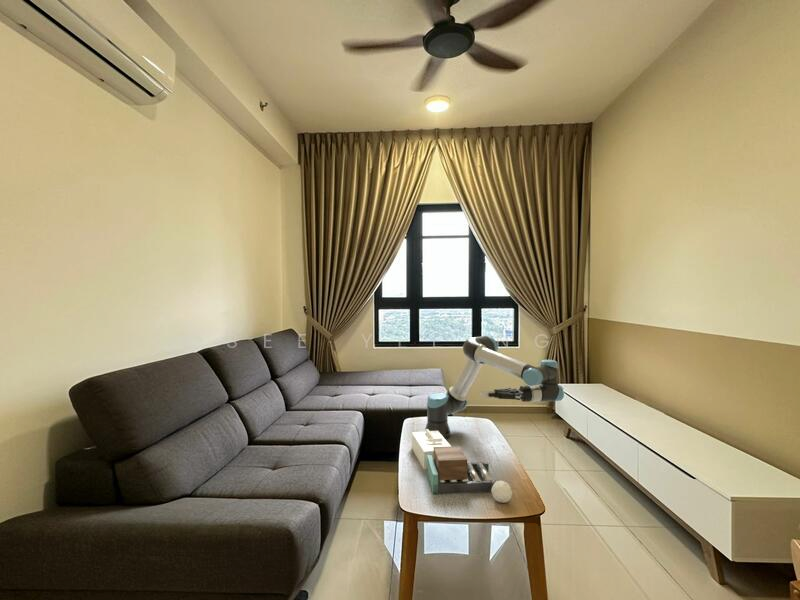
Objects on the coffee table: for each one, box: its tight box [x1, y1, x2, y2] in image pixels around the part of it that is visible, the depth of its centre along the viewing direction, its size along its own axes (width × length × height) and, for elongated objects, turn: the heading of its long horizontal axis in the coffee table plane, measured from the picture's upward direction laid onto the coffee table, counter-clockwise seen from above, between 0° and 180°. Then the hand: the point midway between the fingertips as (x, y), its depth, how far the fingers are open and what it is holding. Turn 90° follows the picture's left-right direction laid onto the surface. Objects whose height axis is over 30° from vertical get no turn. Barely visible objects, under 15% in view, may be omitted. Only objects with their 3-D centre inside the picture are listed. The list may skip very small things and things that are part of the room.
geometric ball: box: [490, 480, 513, 504], centre depth 143 cm, size 8×8×8 cm
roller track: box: [426, 461, 501, 495], centre depth 159 cm, size 19×28×4 cm, turn 93°
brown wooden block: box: [434, 445, 468, 481], centre depth 158 cm, size 14×12×8 cm
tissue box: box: [411, 428, 452, 471], centre depth 184 cm, size 14×25×11 cm, turn 11°
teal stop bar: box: [426, 455, 439, 495], centre depth 158 cm, size 19×2×8 cm, turn 3°
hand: (481, 394), depth 173 cm, fingers closed
